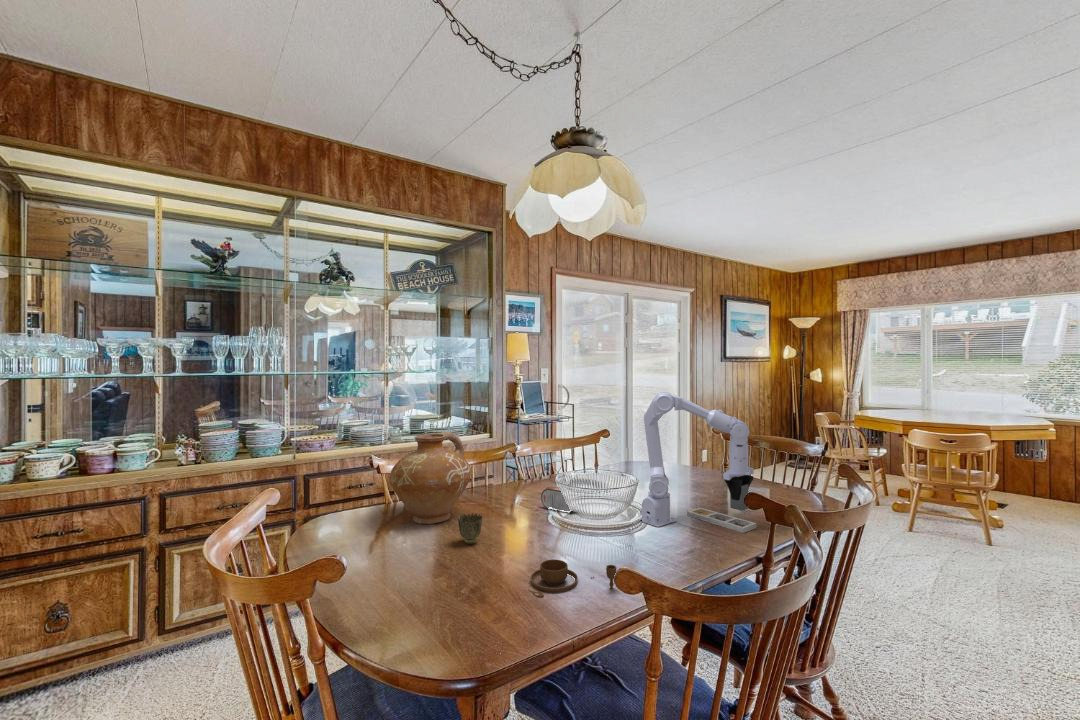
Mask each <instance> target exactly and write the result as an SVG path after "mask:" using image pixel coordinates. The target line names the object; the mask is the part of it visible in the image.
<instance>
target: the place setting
mask: <svg viewBox="0 0 1080 720" xmlns="http://www.w3.org/2000/svg"><path fill="white" fill-rule="evenodd" d="M568 567H569V565H568V563H567V562H565V561H564V560H561V559H546V560H544V561H542V562H541V563H540V564H539V569H537V570H536V571H535V570H534V571H533V573H531V575H530V577H529V579H530V583H531V585H532V586H533V587H534V588H535V589H537V590H538V591H533V590H531V589H527V591H528V592H530V593H532V595H533V596H534V597H537V598H543V597H544V596H545V595H544V593H545V592H546V593H563V592H567V591H569V590H571V589H574V588H575V587H576V586H577V584H578V580H579V578H578V574H577V573H575V572H574V571H573V570H570V569H568ZM605 569H606V577H607V578H608V579H609V588H608V590H611V591H613V590H614V579H615V578H614V575H615V573H616V574H617V566H616V565H614V564H608V565H606V568H605ZM567 574H569V575H571V576H573V577H574V578H575V581H574V582H573V583H571V584H569V585H566V586H562V587H547V586H542V585H540V584H537V583H536V582H534V581H535V579H536V578H538V577H541V579H542V581H544V582H546V584H548V585H550V586H558V585H561V584H562V583H563V582H564V581H565V580H566V579H567V577H568V575H567ZM537 576H538V577H537ZM592 577H593V578H592ZM592 577H590V578H591V580H592V579H594V578H595V576H592ZM539 591H542V592H539ZM543 592H544V593H543Z"/></svg>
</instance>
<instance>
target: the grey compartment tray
mask: <svg viewBox="0 0 1080 720" xmlns="http://www.w3.org/2000/svg"><path fill="white" fill-rule="evenodd" d="M686 515H687V517H689V518H693V519H697V520H700V521H704V522H706V523H709V524H713V525H717V526H719V527H723V528H727V529H729V530H733V531H736V532H739V533H741V534H744V533H746V532H750V531H752V530H755V529H757V526H758V525H757V523H756V522H752V521H749V520H746V519H743V518H739V517H736V516H732V515H729V514H725V513H721V512H717V511H715V510H714V511H713V510H710V509H706V508H703V507H698V508H694V509H691V510H687V511H686ZM737 524H738V525H737Z"/></svg>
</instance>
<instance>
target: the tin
mask: <svg viewBox="0 0 1080 720" xmlns="http://www.w3.org/2000/svg"><path fill="white" fill-rule="evenodd" d="M559 488H560V487H558V486H552V485H551V486H547V487H546V488H544V490H542V491H541V494H540V499H541V503H542V506H544V508H546V510H549V509H548V508H549V507H552V508H555V509H559V510H564V511H570V509H569V507H568V505H567V504H566V502H565V499H564V497H563V495H562V493H561V491H560V489H559Z"/></svg>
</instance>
